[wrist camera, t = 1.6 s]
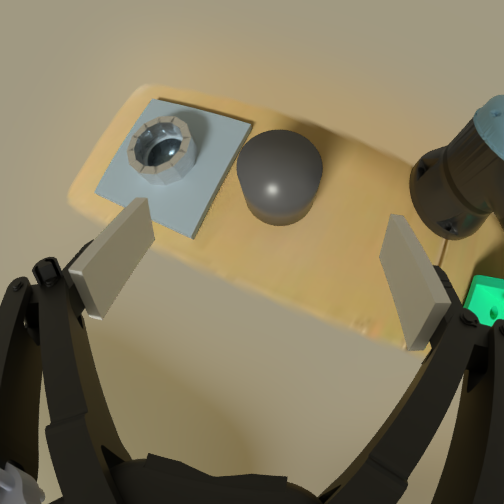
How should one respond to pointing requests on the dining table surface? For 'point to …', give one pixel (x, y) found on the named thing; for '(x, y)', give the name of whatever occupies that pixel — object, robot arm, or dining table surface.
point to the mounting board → (197, 179)
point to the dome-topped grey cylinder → (279, 176)
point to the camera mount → (486, 299)
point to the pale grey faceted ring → (163, 150)
